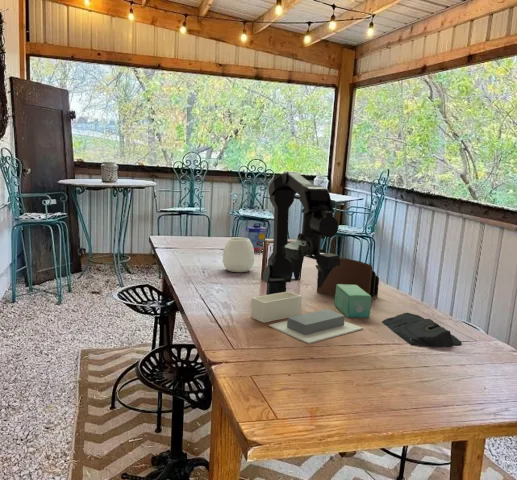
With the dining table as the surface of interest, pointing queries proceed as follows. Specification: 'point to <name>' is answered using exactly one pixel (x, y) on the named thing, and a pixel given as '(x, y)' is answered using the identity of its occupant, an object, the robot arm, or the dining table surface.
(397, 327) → the dark slate chunk
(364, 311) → the box
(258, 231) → the ink cartridge box
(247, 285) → the dining table surface
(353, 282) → the letter holder
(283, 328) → the pale cream mat
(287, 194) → the robot arm
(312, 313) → the grey rectangular block
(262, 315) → the base
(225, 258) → the cream rounded pot
